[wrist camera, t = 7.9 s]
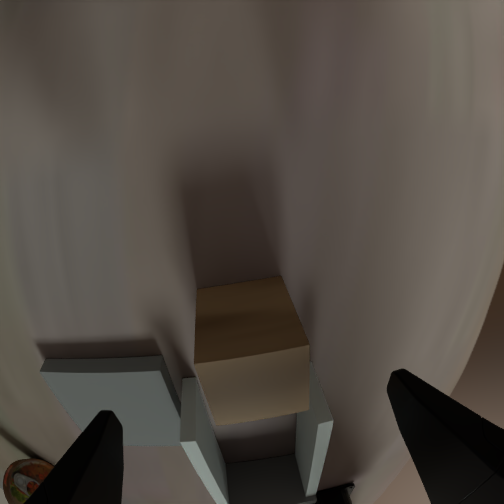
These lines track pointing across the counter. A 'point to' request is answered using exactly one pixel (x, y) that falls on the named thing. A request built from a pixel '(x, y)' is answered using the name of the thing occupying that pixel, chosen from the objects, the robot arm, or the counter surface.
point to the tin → (24, 479)
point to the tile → (119, 395)
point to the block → (251, 351)
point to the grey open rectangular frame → (259, 471)
